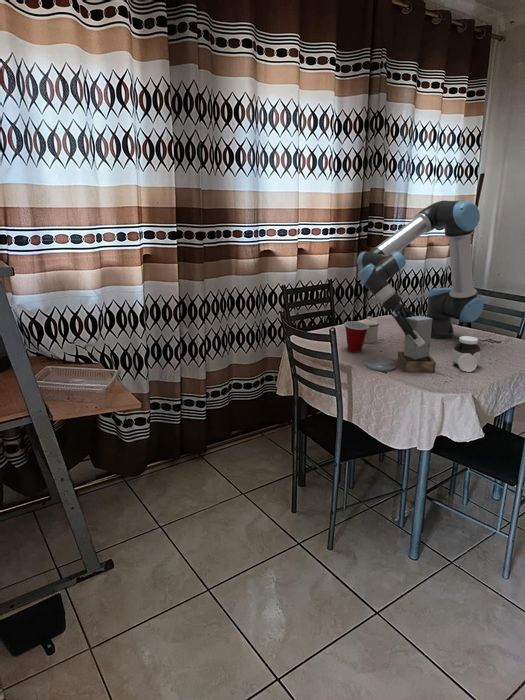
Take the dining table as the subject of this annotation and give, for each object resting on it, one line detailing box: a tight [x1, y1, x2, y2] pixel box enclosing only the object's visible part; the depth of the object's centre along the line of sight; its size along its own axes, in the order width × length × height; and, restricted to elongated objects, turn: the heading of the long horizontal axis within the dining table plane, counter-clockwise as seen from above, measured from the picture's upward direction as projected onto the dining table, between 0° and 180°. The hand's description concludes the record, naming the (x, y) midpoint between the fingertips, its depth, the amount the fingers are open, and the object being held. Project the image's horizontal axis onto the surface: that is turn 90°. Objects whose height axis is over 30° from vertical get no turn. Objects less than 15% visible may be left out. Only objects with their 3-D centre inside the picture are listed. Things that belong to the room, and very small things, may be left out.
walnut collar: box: [396, 351, 437, 373], centre depth 197 cm, size 12×13×4 cm
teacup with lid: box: [359, 316, 380, 344], centre depth 229 cm, size 12×9×12 cm
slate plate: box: [365, 358, 397, 372], centre depth 197 cm, size 12×12×1 cm
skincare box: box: [403, 315, 432, 360], centre depth 194 cm, size 8×7×16 cm
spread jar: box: [451, 335, 482, 373], centre depth 195 cm, size 12×11×12 cm
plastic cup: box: [344, 321, 369, 353], centre depth 215 cm, size 11×11×12 cm
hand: (425, 341), depth 193 cm, fingers closed on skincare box, 10 cm apart
